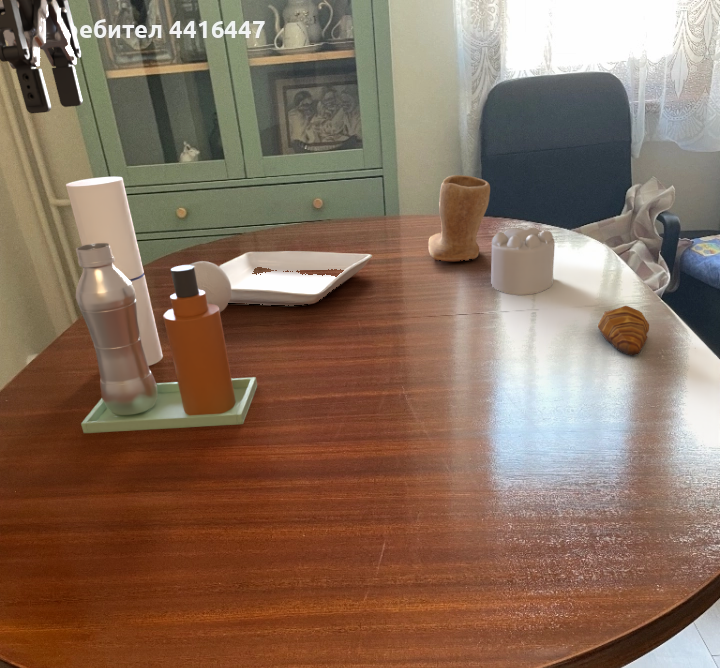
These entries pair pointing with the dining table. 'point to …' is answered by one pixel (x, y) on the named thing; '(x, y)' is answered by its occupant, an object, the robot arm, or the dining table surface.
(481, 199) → the clay boot
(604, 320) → the croissant
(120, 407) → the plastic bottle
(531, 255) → the lumpy-topped squat cylinder
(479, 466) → the dining table surface
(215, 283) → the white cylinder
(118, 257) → the cylindrical container
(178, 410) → the tray
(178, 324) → the amber bottle
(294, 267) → the square plate
